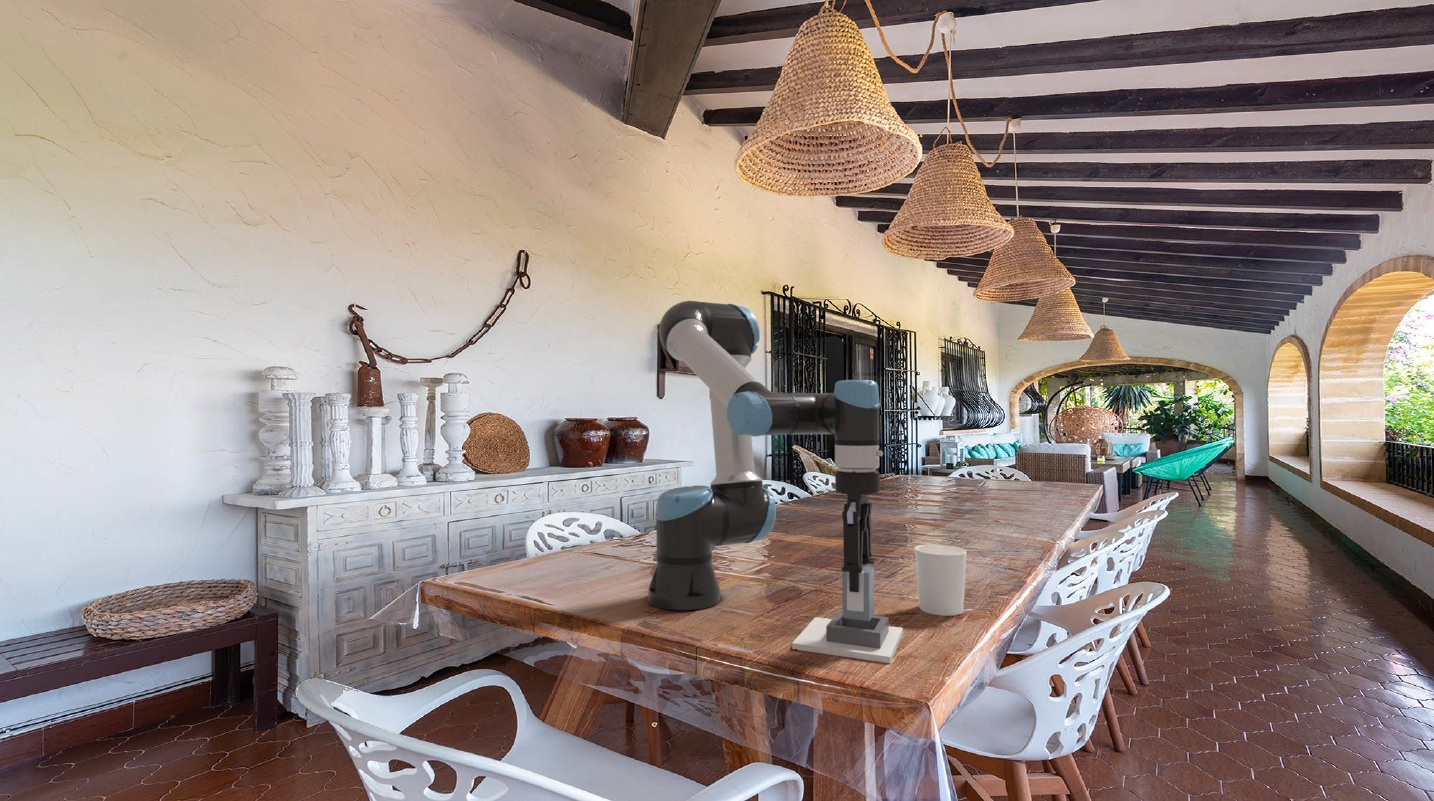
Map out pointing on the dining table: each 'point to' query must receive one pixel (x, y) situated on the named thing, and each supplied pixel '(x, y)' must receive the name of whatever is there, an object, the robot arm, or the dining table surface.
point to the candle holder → (940, 579)
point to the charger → (868, 596)
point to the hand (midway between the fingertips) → (858, 605)
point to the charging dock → (851, 638)
